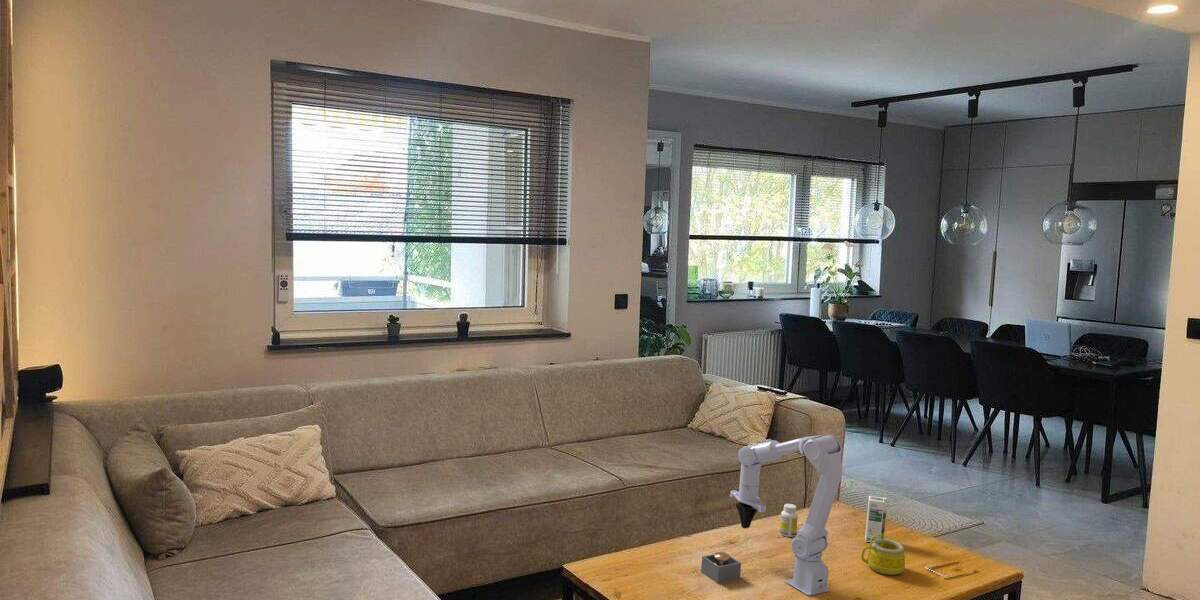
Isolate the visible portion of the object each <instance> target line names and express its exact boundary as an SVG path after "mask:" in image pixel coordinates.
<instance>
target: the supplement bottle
mask: <svg viewBox="0 0 1200 600" xmlns="http://www.w3.org/2000/svg"><path fill="white" fill-rule="evenodd" d="M798 517H799V515H798V513H797V505H795V504H793V503H785V504H784V505H783V510H782V511H781V512H780V521H779V522H780V523H779V524H780V525H779V534H780V535H781V536H783V537H786V538H794V537H796V536H797V532H798V531H797V528H798Z"/></svg>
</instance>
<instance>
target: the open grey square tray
mask: <svg viewBox="0 0 1200 600" xmlns="http://www.w3.org/2000/svg"><path fill="white" fill-rule="evenodd" d="M722 552H723V551H722ZM723 553H725V552H723ZM714 554H715V553H712V554H710V555H702V556H701V569H700V570H701V571H700V573H702V574H703V575H705V576H706V577H707V578H709V579H710V580H712V581H713V582H715V583H716V584H723V583H726V582H731V581H736V580H740V579H741V570H742V562H740V561H739V560H737V559H735V558H734V557H732V556H731V555H729V556H730V557H729V561H728V562H723V566H718V565H719V564H720V562H718V561H716V560H714Z"/></svg>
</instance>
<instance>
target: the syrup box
mask: <svg viewBox="0 0 1200 600" xmlns="http://www.w3.org/2000/svg"><path fill="white" fill-rule="evenodd" d="M887 510H888V498H887V497H883V496H882V497H881V496H875V495H868V502H867V511H866V513H867V515H866V525H865V533H864V535H865V537H864V541H865V543H867V542H870V539H871V538H872V534H873V535H875V534H880V535H882V536H883V538H884V539H885V530H886V521H887V512H888V511H887ZM869 529H871V532H872V534H871V532H870V531H869ZM878 536H879V535H877V536H875V538H876V539H882V537H880V536H879V537H880V538H878ZM872 541H874V539H872Z"/></svg>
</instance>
